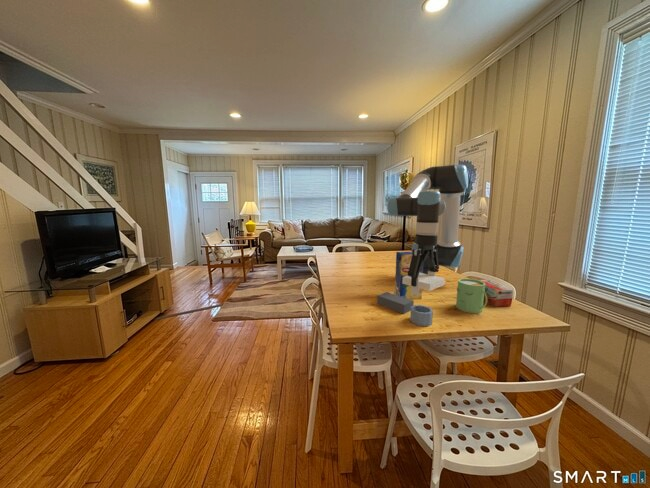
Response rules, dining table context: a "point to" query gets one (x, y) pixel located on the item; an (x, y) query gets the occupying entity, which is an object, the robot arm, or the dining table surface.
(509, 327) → the dining table surface
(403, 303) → the blue-grey rectangular block
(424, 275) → the tile
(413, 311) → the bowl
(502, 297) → the medicine box
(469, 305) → the mug
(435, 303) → the dining table surface
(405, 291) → the blue cereal box
